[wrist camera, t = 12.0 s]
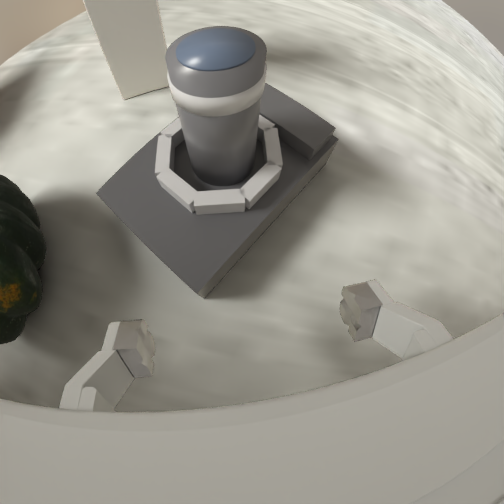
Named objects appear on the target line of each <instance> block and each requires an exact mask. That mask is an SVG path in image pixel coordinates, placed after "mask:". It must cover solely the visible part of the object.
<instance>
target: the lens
mask: <svg viewBox="0 0 504 504" xmlns="http://www.w3.org/2000/svg"><path fill="white" fill-rule="evenodd" d="M266 52H267V50H266V45H265V43H264V42H263V40H262V39H261V38H260V37H258V36H257V35H256V34H254V33H252V32H250V31H247V30H244V29H241V28H236V27H229V26H214V27H207V28H202V29H198V30H194V31H192V32H189V33H187V34H185V35H183V36H181V37H179V38H178V39H177V40H175V41H174V42H173V43H172V44H171V45H170V46H169V48H168V49H167V51H166V55H165V60H166V65H167V69H168V72H167V78H168V82H169V86H170V91H171V95H172V98H173V100H174V101H175V103H176V107H177V111H178V115H179V119H180V123H181V127H182V131H183V135H184V138H185V142H186V146H187V150H188V154H189V157H190V161H191V165H192V168H193V171H194V173H195V174H196V176H197V177H198V178H199V179H200V180H202V181H203V182H205V183H207V184H210V185H213V186H230V185H234V184H236V183H238V182H240V181H242V180H243V179H245V178H246V177H247V176H248V175H249V173H250V172H251V170H252V168H253V165H254V159H255V150H256V140H257V131H258V122H259V113H260V104H261V95H262V94H263V91H264V86H265V78H266V70H267V69H266V63H265V60H266Z"/></svg>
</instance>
